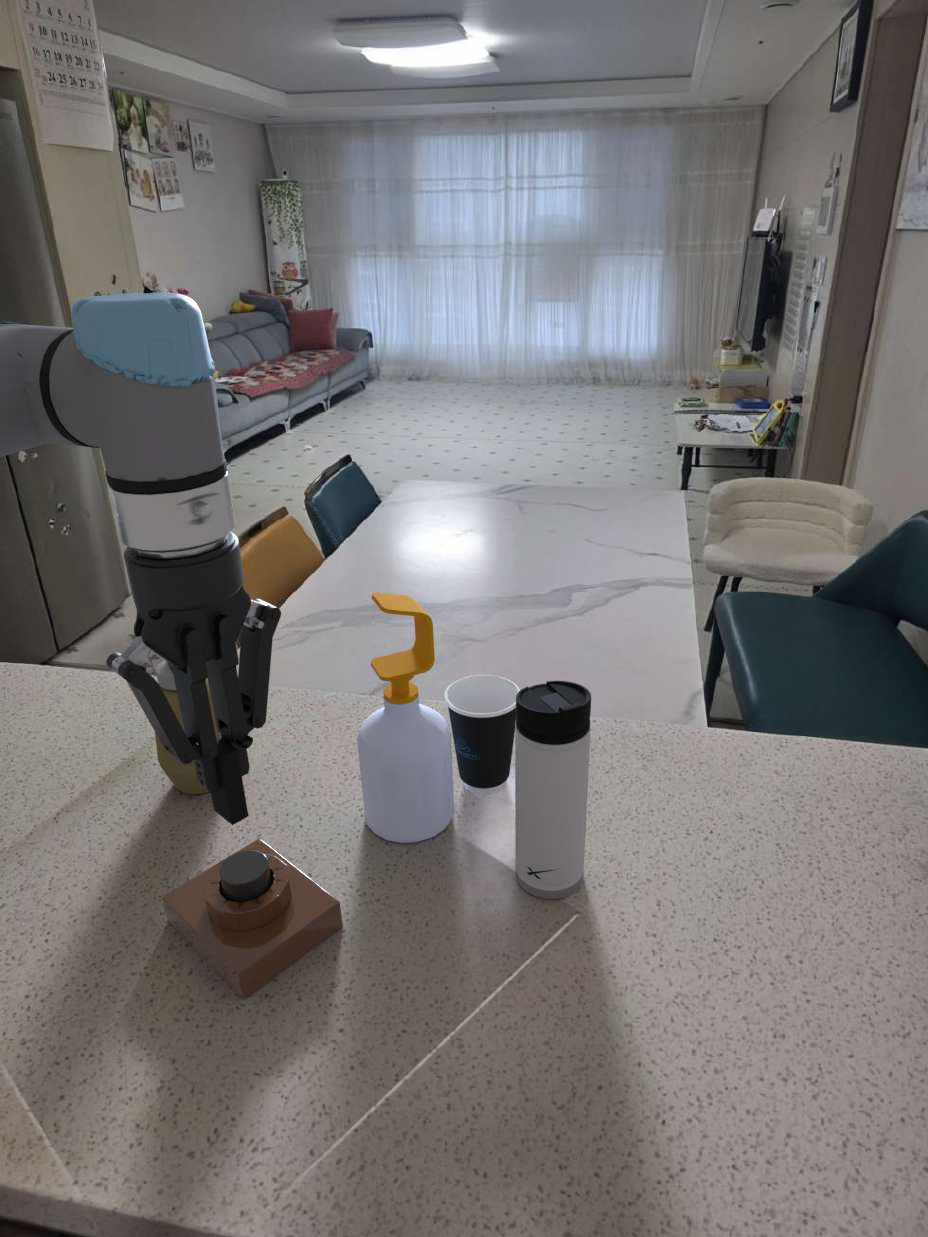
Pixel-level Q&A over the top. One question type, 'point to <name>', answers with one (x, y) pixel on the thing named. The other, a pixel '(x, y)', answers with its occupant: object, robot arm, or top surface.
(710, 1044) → the top surface
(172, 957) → the top surface
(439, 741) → the soap bottle
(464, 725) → the dixie cup
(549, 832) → the travel mug
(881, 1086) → the top surface
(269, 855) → the button base
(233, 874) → the grey button cap
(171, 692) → the squeeze bottle
